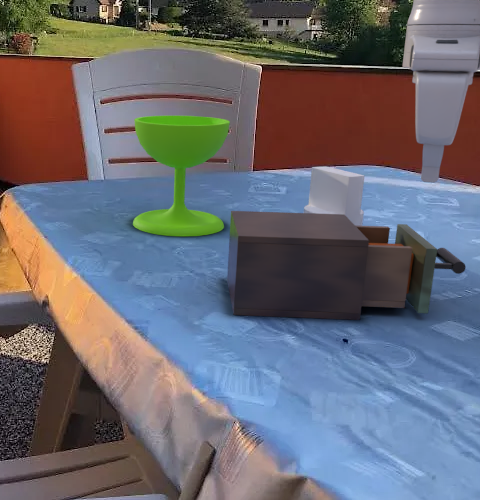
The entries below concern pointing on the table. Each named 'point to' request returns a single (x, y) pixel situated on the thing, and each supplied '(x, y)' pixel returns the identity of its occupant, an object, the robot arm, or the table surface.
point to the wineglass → (180, 168)
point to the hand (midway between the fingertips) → (429, 174)
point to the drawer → (402, 268)
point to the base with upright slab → (336, 193)
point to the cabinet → (296, 265)
